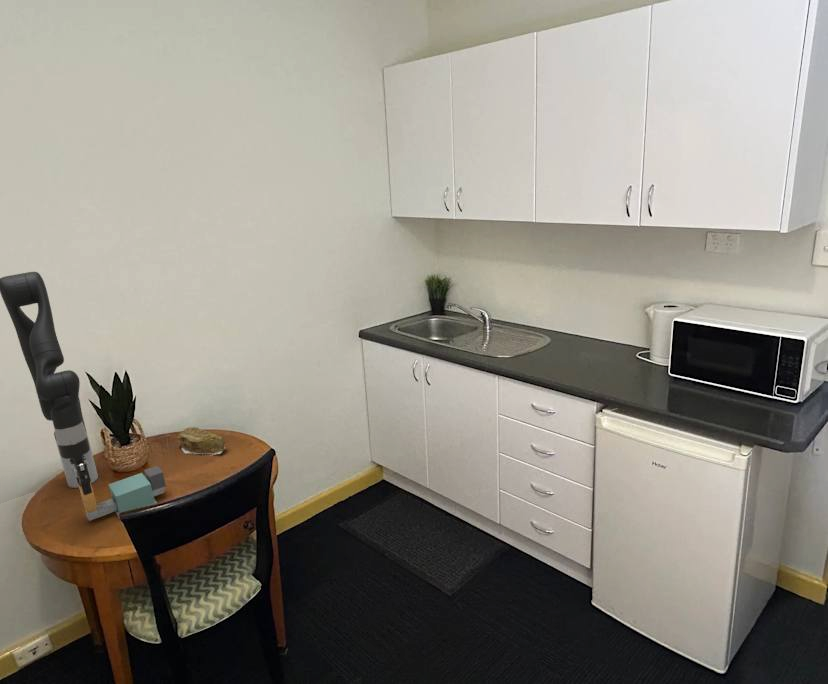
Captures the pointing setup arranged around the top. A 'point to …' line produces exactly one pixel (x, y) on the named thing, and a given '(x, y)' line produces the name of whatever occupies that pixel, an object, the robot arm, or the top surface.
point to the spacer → (155, 477)
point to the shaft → (102, 504)
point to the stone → (200, 441)
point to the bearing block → (132, 493)
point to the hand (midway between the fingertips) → (85, 488)
